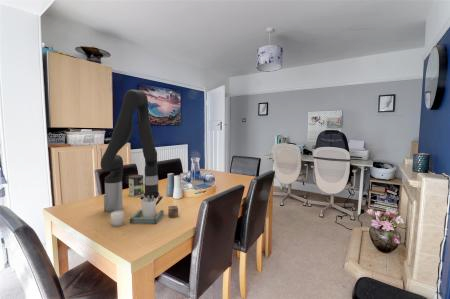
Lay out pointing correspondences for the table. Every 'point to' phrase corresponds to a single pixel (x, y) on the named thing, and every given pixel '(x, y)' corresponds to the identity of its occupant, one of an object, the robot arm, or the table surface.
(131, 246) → the table surface
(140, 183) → the coffee can
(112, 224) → the white rounded block
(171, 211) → the walnut block
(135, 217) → the display frame
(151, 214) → the white cup
